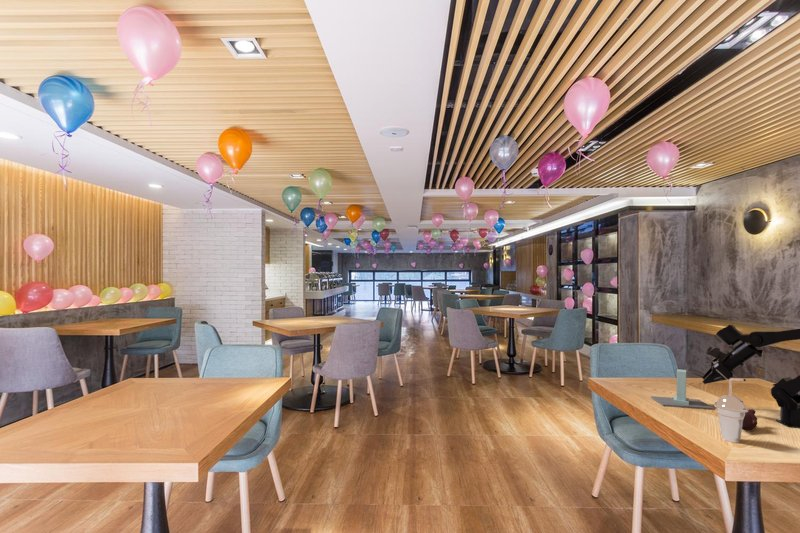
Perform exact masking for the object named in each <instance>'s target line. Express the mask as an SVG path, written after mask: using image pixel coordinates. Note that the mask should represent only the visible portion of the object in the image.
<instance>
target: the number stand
mask: <svg viewBox="0 0 800 533" xmlns="http://www.w3.org/2000/svg"><path fill="white" fill-rule="evenodd" d="M673 398H674V403H678V404H685V405H689V399H690V398H689V397H687V369H679V368H678V369H677V370H676V395H674V397H673Z"/></svg>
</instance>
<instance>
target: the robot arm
mask: <svg viewBox="0 0 800 533" xmlns="http://www.w3.org/2000/svg"><path fill="white" fill-rule="evenodd" d="M715 336H716V337H717V338H718V339H720V341H722V342H723V343H724V344H725V345H727V346H728V347H733V348H732V349H731V350H726V351H723V350H720V347H717V346H712V345H708V346H707V348H706V349H705V350H704V353H705V354H706V355H708V356H711V357H713V358H712V359H711V361H710V367H709V368H708V370H706V372H705V373H704V374H703V376H702V377H701V378H702V379H703V380H702V383H703V384H704V385H707V384H712V383H716V382H717V383H718V382H723V381H729V379H730V378H734V376H733V374H734V373H733V372H735V371H736V369H737V368H739V367H740V366H741V367H742V366H744V365H745V363H746V362H748V361H749V360H751V359H752V358H754V357H755V356H758V357H759V358H761V359H764V352H765V351H764V350H763V349H758V348H765V347H770V346H774V345H777V344H780V343H784V342H788V341H789V342H790V341H797V340H800V328H793V329H787V330H776V331H775V330H760V331H757V330H756V331H752V332H750V333H745V334H743V333H742V332H741V331H739V329H737V327H736V326H734V324H728V325H727V326H725V327H723V328H722V329H719V330H718V331H717V332H716V334H715ZM770 394H771V397H772V398H773V399H774V400H775V401H776V404H777V406H778V407H780V411H779V412H780V413H779V414H780V415H779V416H780V418H779V419H775V422H777V423H780V424H782V425H783V426H786V427H788V428H789V427H790V428H800V374H799V375H798V376H796V377H794V378H792V377H791V376H787V377H783V378H781V379H779V381H778V382H777V383H772V388H771V389H770Z"/></svg>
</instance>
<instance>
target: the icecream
mask: <svg viewBox="0 0 800 533" xmlns="http://www.w3.org/2000/svg"><path fill="white" fill-rule="evenodd" d="M755 414H756V410H755V409H753V408H752V409H751V408H750V409H749V408H748V412H745V417H744V419H743V425H742V430H745V431H751V430H753V429H754V428H756V427H757V425H758V417H757V416H756V415H755Z"/></svg>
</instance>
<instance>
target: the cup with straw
mask: <svg viewBox="0 0 800 533" xmlns="http://www.w3.org/2000/svg"><path fill="white" fill-rule="evenodd" d="M733 381H737V382H738V381H739V382H746V378H740V377H739V378H738V377H732V378H730V379H729V380H728V394H723V395H721V396H719V398H718V399H717V401H715V402H714V404H713V407H714V408H716V411H717V415H718V420H719V428H720V429H719V430H720V435H721V439H722V440H724V441H726V442H730V443H736V444H737V443H740V442H741V439H742V431H743V429H742V425H743V419H744V417H745V412H748V410H749V408H748V407H747V406H746V404H745V402H744V401H743V400H742V399H741V397H738V396H736V395H734V394H733V391H732V390H733V388H732V387H733Z"/></svg>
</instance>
